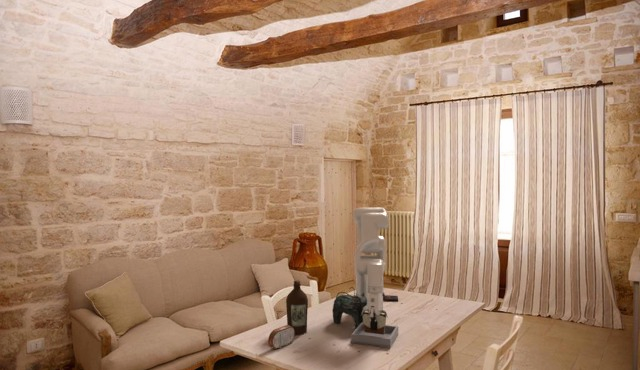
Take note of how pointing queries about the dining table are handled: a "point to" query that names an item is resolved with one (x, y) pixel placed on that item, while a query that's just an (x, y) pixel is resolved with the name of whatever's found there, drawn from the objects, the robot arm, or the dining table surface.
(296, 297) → the olive oil
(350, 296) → the teal animal figurine
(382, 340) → the tray
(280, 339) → the tin
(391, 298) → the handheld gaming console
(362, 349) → the dining table surface
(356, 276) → the robot arm
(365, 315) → the food container
